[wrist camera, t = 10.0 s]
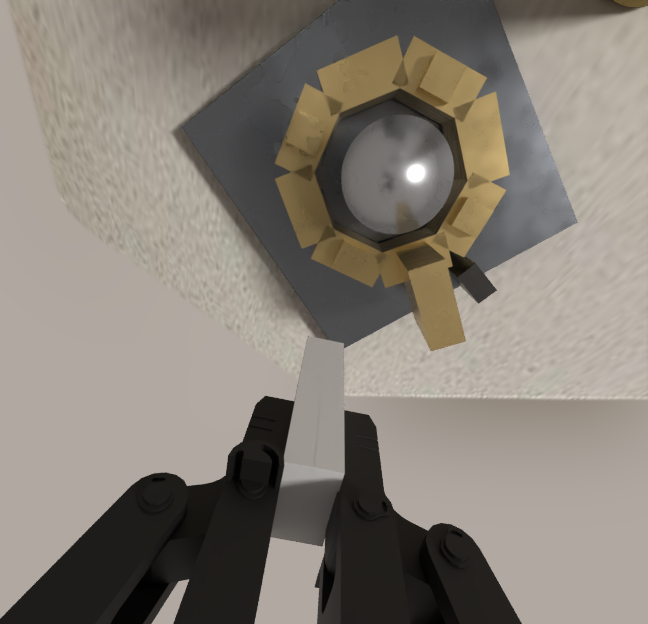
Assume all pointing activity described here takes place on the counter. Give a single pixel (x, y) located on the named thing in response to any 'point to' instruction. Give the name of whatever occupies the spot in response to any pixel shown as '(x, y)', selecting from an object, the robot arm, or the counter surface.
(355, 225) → the housing
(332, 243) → the ring nut
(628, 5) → the bark textured cylinder
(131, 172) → the counter surface
